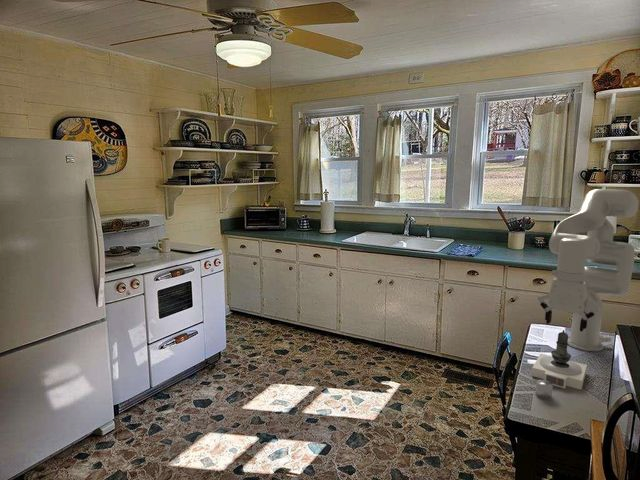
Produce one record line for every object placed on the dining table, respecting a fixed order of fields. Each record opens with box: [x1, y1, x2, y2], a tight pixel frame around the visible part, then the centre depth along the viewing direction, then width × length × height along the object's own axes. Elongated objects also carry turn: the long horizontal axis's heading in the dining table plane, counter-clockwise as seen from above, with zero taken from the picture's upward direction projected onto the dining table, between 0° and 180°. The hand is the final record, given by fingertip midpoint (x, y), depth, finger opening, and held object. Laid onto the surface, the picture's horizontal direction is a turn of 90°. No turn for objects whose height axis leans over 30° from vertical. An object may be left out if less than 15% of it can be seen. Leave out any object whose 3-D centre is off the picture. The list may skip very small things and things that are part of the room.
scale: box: [531, 353, 588, 390], centre depth 134 cm, size 17×14×4 cm
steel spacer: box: [534, 379, 554, 401], centre depth 121 cm, size 4×4×4 cm
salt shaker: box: [550, 329, 572, 368], centre depth 134 cm, size 6×6×12 cm
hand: (564, 326), depth 133 cm, fingers open, 9 cm apart
